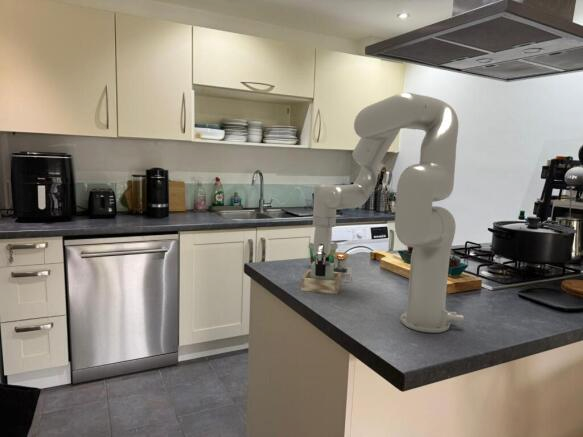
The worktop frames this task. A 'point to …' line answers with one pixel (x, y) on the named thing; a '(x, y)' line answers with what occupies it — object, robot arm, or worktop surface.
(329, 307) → the worktop surface
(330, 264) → the pale green box
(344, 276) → the plunger base
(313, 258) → the food container
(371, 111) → the robot arm
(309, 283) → the bay
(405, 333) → the worktop surface
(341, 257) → the plunger
